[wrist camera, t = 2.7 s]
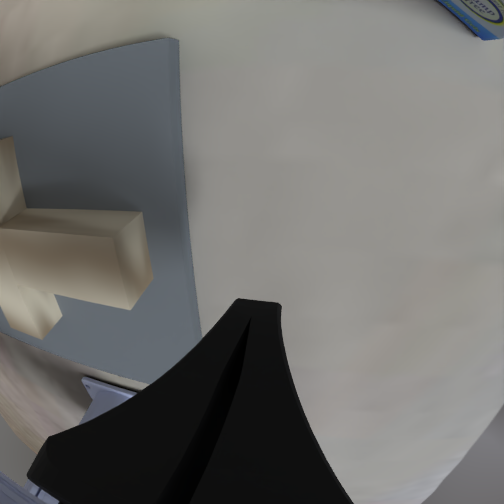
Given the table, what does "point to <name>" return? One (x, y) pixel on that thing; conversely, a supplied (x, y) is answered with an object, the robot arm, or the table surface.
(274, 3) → the table surface
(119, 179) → the mat
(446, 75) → the table surface
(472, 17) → the medicine box
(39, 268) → the t block
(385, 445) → the table surface
